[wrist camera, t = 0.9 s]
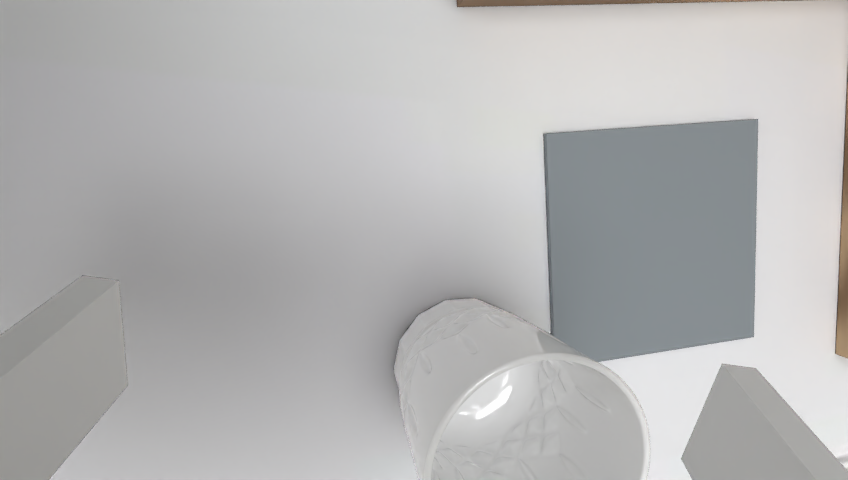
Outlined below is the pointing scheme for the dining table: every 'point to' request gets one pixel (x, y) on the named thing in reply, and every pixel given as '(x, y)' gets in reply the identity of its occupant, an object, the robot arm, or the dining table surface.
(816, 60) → the dining table surface
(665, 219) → the slate mat
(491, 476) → the white cup
